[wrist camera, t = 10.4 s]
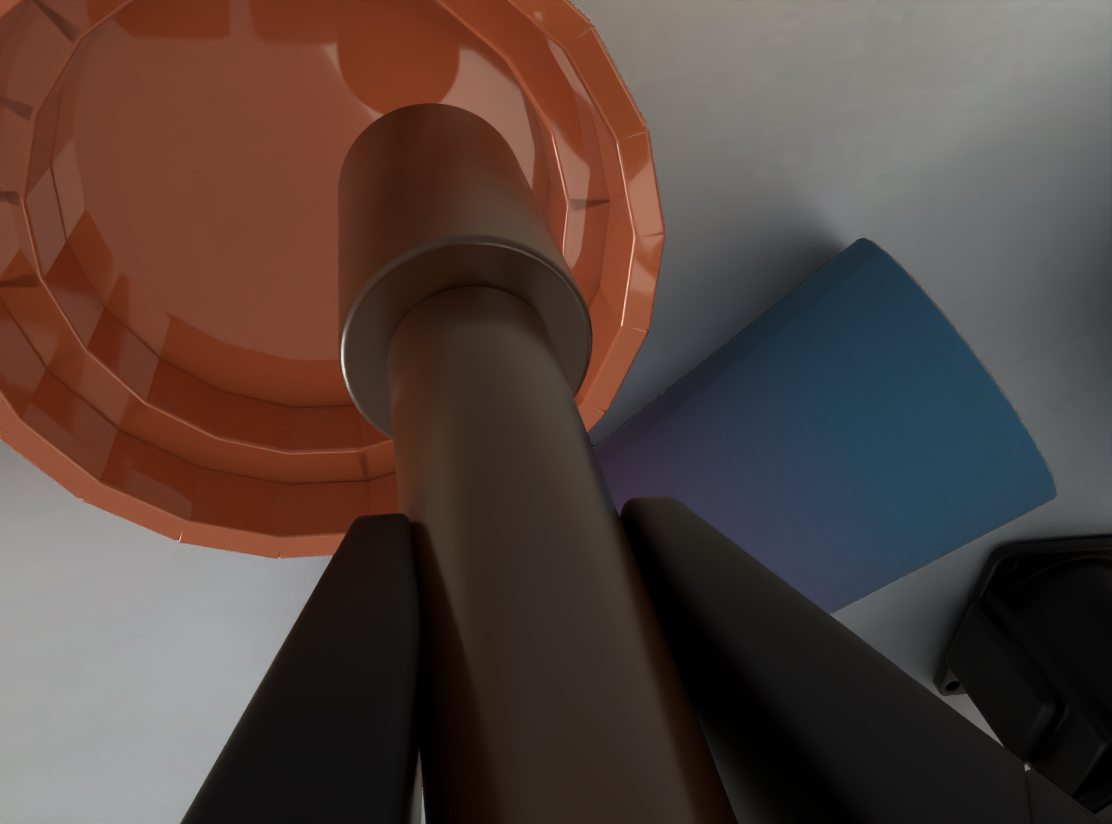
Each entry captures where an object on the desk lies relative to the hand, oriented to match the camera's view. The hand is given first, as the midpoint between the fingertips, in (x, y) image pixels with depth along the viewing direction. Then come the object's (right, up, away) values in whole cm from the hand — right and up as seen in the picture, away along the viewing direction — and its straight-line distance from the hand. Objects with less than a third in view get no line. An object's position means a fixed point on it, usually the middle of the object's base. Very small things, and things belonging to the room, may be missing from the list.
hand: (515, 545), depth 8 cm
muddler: (-2, +4, +6) cm, 8 cm away
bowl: (-5, +5, +11) cm, 13 cm away
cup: (-3, -6, +16) cm, 17 cm away
